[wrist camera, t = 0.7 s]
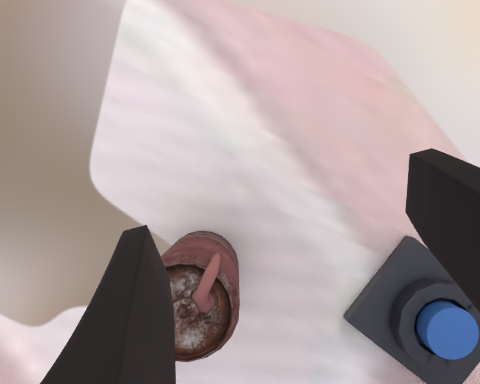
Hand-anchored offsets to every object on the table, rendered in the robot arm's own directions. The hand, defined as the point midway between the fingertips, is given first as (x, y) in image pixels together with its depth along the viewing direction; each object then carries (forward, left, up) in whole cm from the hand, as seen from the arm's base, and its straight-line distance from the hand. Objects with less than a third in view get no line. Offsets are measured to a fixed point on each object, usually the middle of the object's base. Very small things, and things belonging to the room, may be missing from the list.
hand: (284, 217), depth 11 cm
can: (-3, +7, -26) cm, 27 cm away
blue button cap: (-17, -7, -22) cm, 29 cm away
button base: (-17, -7, -25) cm, 31 cm away
